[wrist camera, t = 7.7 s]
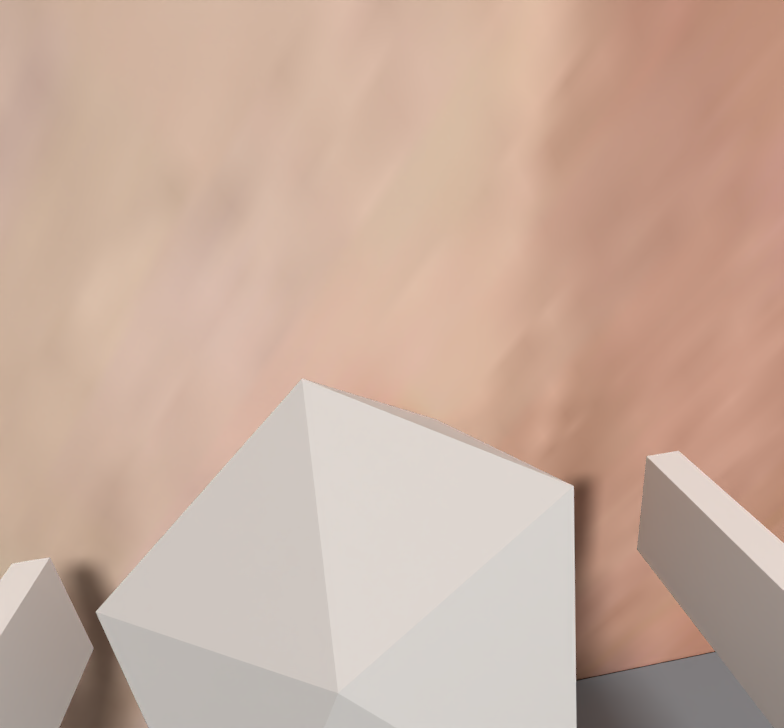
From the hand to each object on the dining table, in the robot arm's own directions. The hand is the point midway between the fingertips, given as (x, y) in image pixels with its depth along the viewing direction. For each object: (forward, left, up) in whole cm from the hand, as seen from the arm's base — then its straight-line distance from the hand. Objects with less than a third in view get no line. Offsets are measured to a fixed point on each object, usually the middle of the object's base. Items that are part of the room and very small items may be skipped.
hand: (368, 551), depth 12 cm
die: (0, 0, -3) cm, 3 cm away
